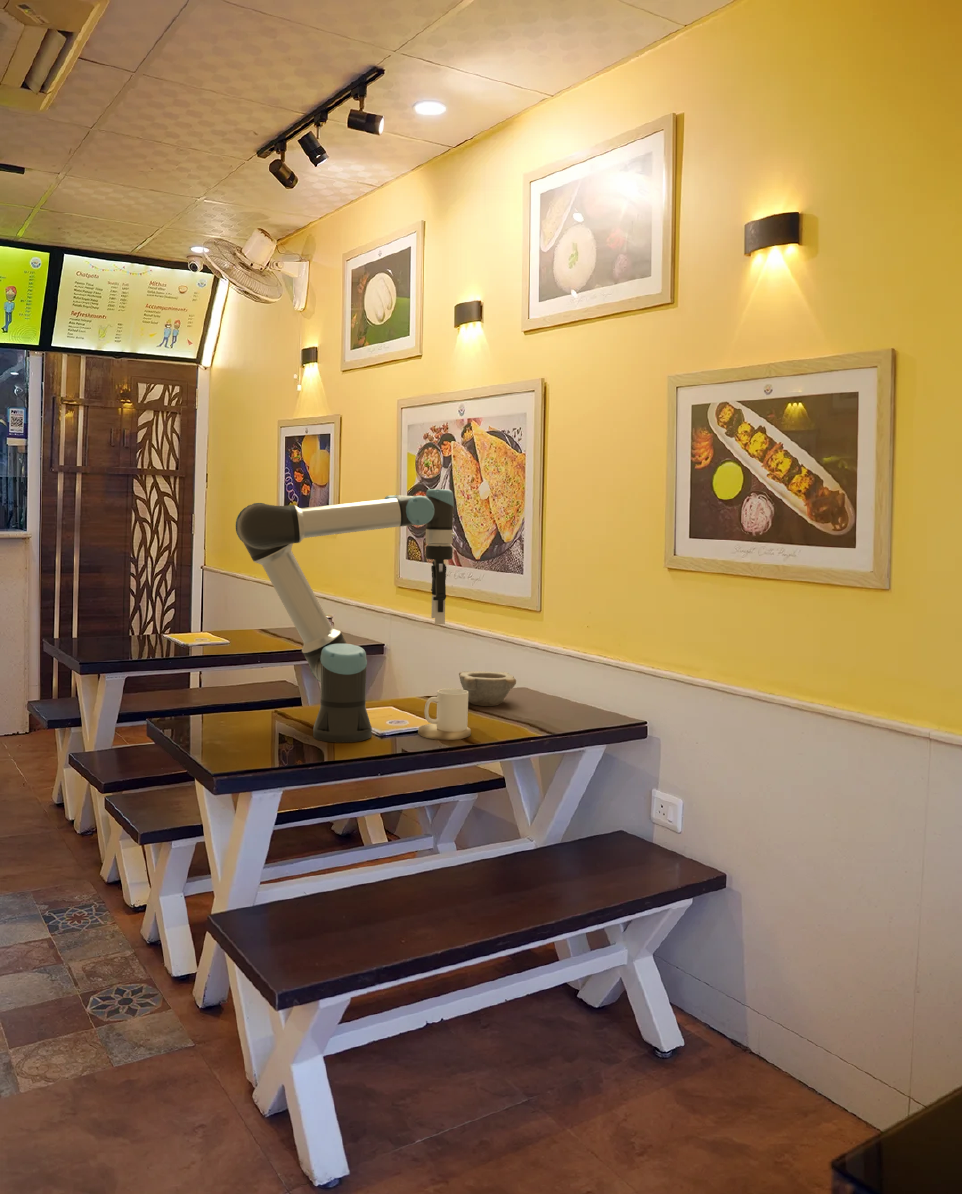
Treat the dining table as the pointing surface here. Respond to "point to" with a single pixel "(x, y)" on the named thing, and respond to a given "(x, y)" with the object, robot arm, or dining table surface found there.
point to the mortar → (486, 686)
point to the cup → (449, 710)
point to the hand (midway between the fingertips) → (437, 621)
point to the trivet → (441, 733)
